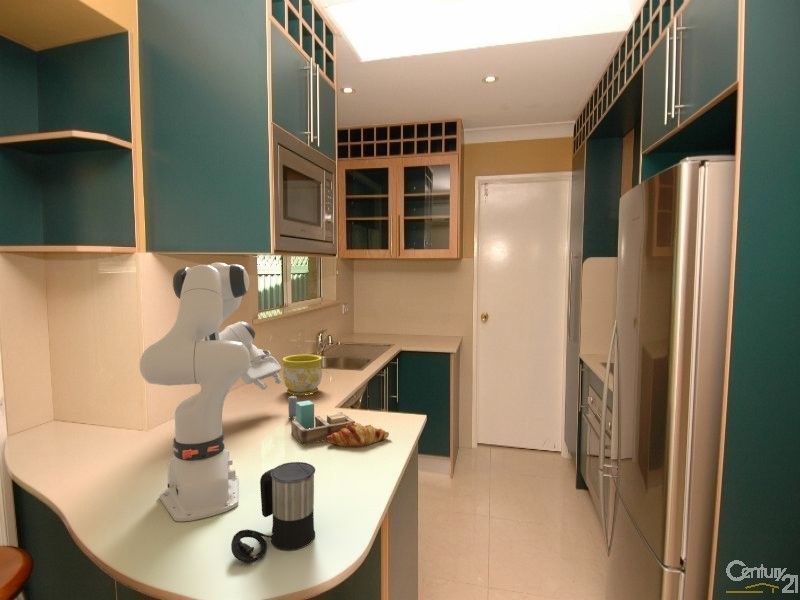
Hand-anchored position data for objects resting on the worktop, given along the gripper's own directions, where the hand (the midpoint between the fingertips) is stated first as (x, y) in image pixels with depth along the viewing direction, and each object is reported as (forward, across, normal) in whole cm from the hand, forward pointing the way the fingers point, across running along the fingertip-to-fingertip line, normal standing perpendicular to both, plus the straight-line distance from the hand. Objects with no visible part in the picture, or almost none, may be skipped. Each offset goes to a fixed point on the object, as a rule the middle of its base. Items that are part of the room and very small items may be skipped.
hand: (272, 385), depth 174 cm
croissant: (+40, -14, -22) cm, 48 cm away
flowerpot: (+4, +32, +13) cm, 35 cm away
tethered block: (+19, -4, -2) cm, 19 cm away
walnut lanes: (+29, -11, -12) cm, 33 cm away
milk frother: (+44, -70, -27) cm, 88 cm away
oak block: (+31, -9, -14) cm, 36 cm away
